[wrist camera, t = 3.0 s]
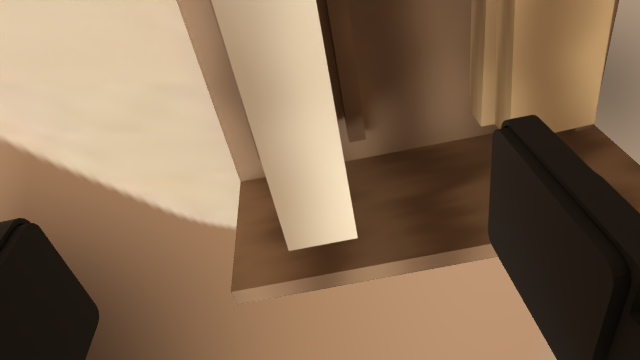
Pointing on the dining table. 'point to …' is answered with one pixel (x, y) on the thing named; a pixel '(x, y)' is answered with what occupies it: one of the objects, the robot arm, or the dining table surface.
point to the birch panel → (291, 114)
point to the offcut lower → (483, 61)
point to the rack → (382, 148)
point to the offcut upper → (551, 60)
